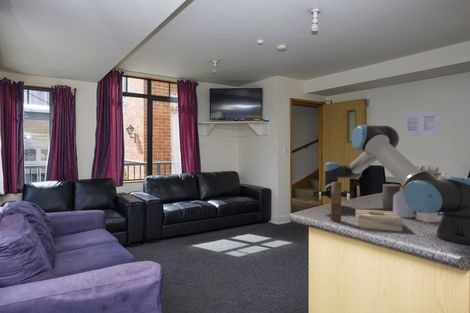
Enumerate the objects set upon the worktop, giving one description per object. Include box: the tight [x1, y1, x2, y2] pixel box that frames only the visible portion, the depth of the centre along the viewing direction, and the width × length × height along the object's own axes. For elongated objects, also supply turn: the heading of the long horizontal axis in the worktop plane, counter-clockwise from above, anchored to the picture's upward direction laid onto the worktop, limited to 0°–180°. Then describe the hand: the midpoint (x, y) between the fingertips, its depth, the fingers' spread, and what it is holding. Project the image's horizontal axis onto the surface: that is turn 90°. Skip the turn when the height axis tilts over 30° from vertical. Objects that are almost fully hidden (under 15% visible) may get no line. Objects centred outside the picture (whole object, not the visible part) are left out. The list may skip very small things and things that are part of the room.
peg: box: [330, 181, 342, 223], centre depth 142 cm, size 4×4×18 cm
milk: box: [415, 174, 438, 223], centre depth 143 cm, size 6×6×22 cm
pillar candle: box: [382, 182, 402, 211], centre depth 170 cm, size 10×10×15 cm
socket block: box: [355, 209, 404, 232], centre depth 135 cm, size 16×16×5 cm
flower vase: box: [416, 165, 448, 180], centre depth 163 cm, size 13×18×25 cm
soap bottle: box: [393, 179, 415, 219], centre depth 152 cm, size 9×9×25 cm
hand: (334, 197), depth 150 cm, fingers open, 13 cm apart
